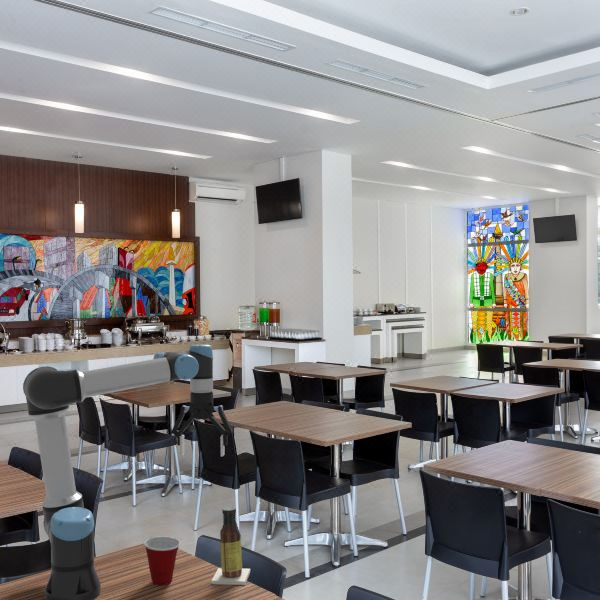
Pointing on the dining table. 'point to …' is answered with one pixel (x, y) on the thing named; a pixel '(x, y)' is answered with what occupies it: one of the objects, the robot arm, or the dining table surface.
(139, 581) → the dining table surface
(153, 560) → the plastic cup
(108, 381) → the robot arm
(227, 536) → the sauce bottle
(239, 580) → the cream pad
